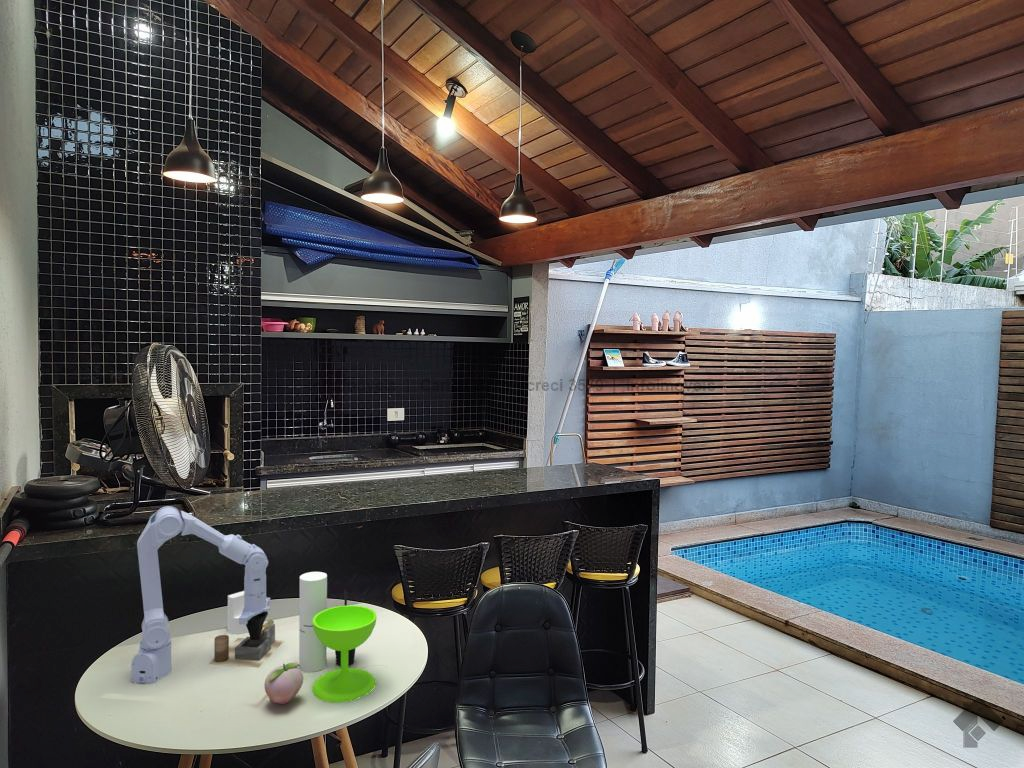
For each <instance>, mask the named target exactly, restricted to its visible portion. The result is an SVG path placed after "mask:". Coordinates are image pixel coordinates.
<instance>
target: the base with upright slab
mask: <svg viewBox="0 0 1024 768" xmlns="http://www.w3.org/2000/svg"><path fill="white" fill-rule="evenodd" d="M243 608H244V590H242V591H238V592H235V593H231V594H228V595H227V617H226V620H227V621H226V622H227V625H226V626H227V632H228V633H229V634H235V635H245V634H249V632H248V629H247V626H246V625H242V624H239V617H240V616H241V614H242V611H243Z"/></svg>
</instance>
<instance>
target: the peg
mask: <svg viewBox="0 0 1024 768" xmlns="http://www.w3.org/2000/svg"><path fill="white" fill-rule="evenodd" d="M213 642H214V647H213V648H214V649H213V650H214V657H213V660H214V661H215V662H224V661H227V660H228V659H229V646H230V636H229V635H227V634H220V635H217V636H215V637H214V641H213Z"/></svg>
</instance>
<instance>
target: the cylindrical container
mask: <svg viewBox="0 0 1024 768" xmlns="http://www.w3.org/2000/svg"><path fill="white" fill-rule="evenodd" d="M326 609H328V574H327V573H326V572H322V571H310V572H309V571H308V572H305V573H303V574H301V575H299V608H298V611H299V617H298V618H299V619H298V620H299V629H298V630H299V632H298V633H299V635H298V636H299V637H298V639H299V640H298V641H299V644H298V645H299V646H298V647H299V648H298V649H299V653H298V655H299V656H298V661H299V663H298V664H300V666H298V668H299V669H300V670H301V672H304V673H315V672H319V671H322V670H324V669H325V668H326V667H327V655H328V654H327V650H328V649H327V648H328V647H326V646H325V645H323V644H322V643H321V641H320V640H319V639H318V638H317V636H316V634H315V632H314V628H313V618H314V616H315V615H316V614H318V613H319V612H321V611H323V610H326Z"/></svg>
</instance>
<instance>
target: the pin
mask: <svg viewBox="0 0 1024 768" xmlns="http://www.w3.org/2000/svg"><path fill="white" fill-rule="evenodd" d="M271 624H275V621H274V620H273V619H269V620H268V621H266V623H265V622H264V624H263V627H262V631H261V635H260V637H261V636H262V635H263V634H264V631H265V630H266V629H267V628H268V627H269V626H270V625H271Z"/></svg>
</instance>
